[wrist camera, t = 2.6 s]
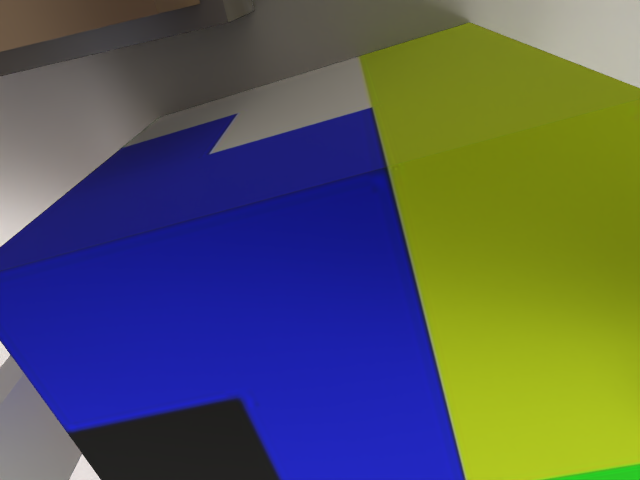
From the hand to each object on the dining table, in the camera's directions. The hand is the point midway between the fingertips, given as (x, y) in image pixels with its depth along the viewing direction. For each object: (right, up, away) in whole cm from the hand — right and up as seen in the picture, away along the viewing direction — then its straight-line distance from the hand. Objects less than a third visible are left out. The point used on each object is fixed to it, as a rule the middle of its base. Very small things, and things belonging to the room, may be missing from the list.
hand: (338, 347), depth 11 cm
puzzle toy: (+1, +3, +7) cm, 8 cm away
